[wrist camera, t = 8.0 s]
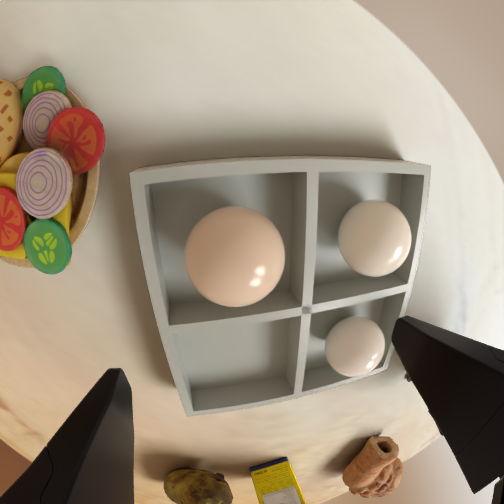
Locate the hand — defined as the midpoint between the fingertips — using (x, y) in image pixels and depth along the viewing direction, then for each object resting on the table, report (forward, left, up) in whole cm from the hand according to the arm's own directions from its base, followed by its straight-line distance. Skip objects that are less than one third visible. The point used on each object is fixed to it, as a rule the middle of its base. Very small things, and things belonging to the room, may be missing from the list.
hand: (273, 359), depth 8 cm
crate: (-5, +5, -11) cm, 13 cm away
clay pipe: (-24, +48, -12) cm, 54 cm away
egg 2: (-9, +9, -11) cm, 17 cm away
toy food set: (+13, -6, -12) cm, 19 cm away
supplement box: (-4, +38, -12) cm, 40 cm away
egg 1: (-9, 0, -11) cm, 14 cm away
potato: (+8, +34, -12) cm, 37 cm away
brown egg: (0, 0, -11) cm, 11 cm away
